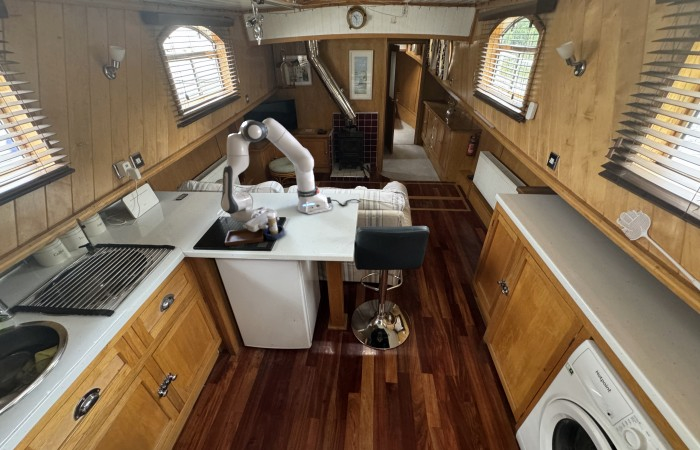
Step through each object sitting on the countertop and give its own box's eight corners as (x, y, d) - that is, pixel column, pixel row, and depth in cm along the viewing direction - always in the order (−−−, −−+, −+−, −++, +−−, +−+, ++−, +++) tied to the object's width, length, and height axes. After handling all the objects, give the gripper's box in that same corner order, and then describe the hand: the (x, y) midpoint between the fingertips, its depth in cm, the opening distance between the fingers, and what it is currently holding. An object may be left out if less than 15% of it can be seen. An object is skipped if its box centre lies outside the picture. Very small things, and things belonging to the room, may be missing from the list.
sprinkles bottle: (269, 234, 162) (264, 214, 155) (275, 231, 165) (271, 211, 158) (273, 237, 160) (269, 217, 153) (280, 234, 163) (276, 213, 156)
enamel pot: (284, 227, 169) (283, 223, 167) (284, 240, 158) (283, 235, 156) (265, 229, 167) (264, 225, 166) (264, 242, 156) (263, 237, 154)
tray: (264, 230, 166) (264, 226, 165) (263, 241, 157) (262, 238, 155) (229, 234, 164) (228, 230, 162) (225, 246, 154) (224, 242, 152)
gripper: (239, 221, 154) (259, 227, 149) (264, 205, 169) (283, 209, 164) (242, 231, 157) (261, 237, 152) (266, 214, 173) (284, 219, 167)
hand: (273, 222), depth 158 cm, fingers open, 8 cm apart
